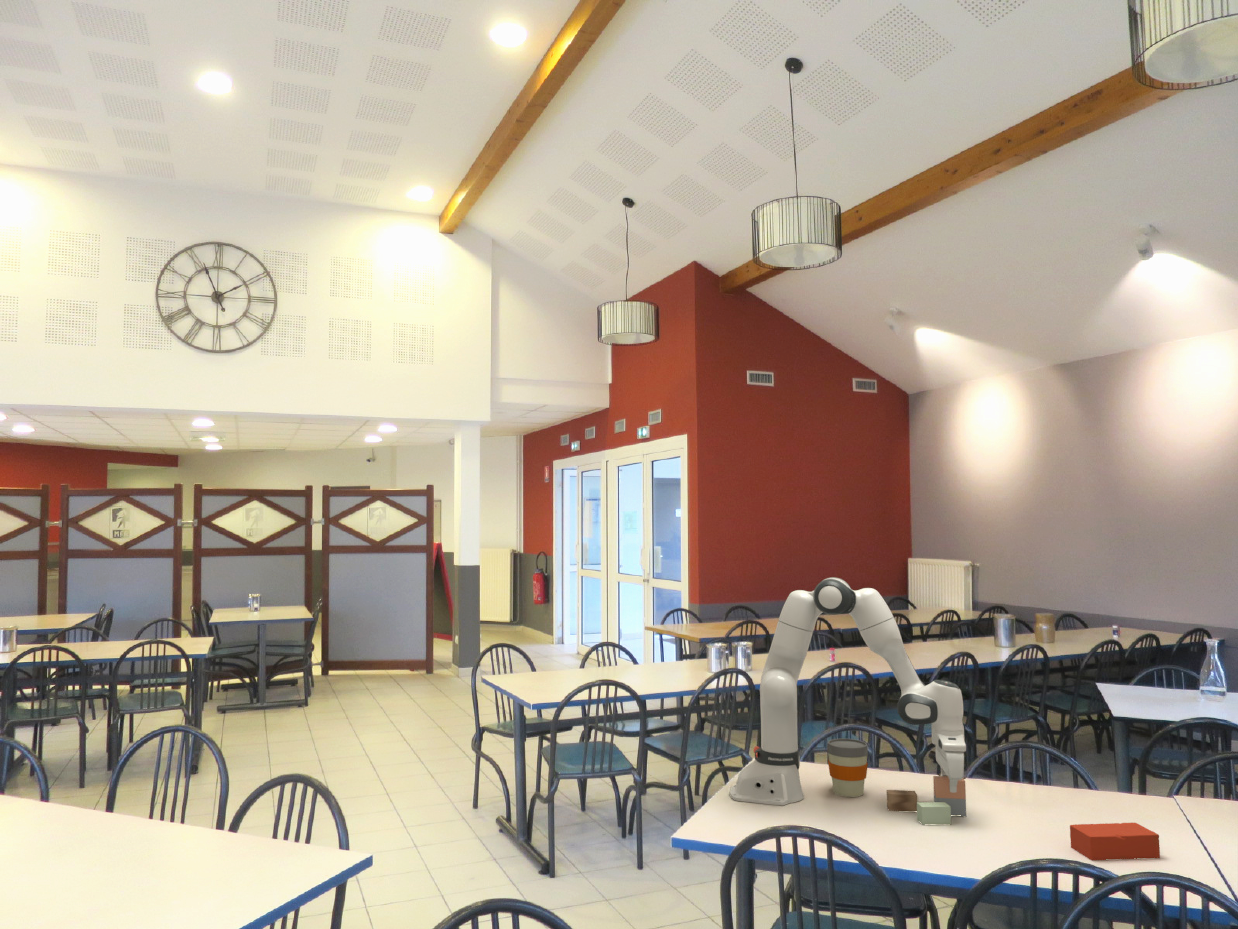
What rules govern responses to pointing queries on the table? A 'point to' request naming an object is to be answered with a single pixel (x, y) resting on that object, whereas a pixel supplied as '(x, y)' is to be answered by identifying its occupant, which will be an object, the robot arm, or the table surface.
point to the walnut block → (901, 800)
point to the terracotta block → (943, 788)
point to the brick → (1114, 841)
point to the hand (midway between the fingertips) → (949, 787)
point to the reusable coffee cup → (847, 766)
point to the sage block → (933, 813)
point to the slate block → (954, 805)
